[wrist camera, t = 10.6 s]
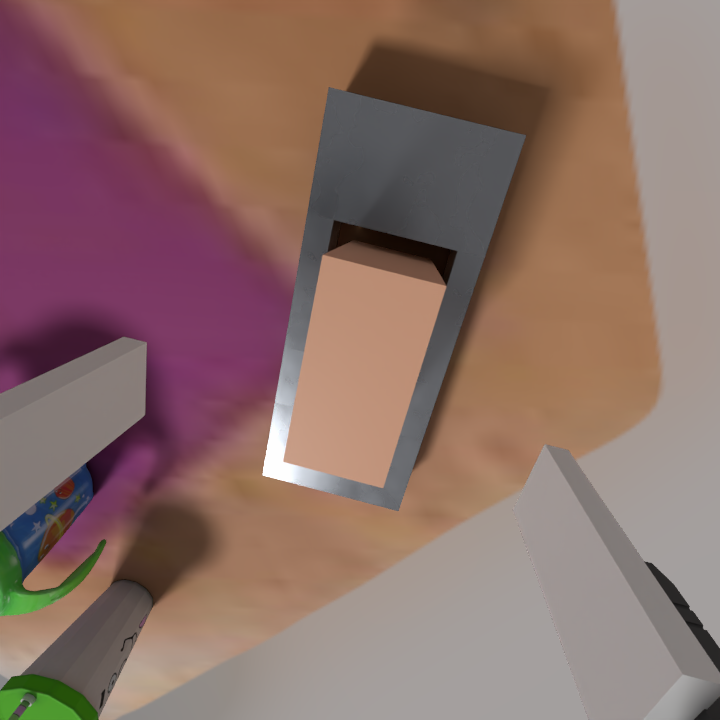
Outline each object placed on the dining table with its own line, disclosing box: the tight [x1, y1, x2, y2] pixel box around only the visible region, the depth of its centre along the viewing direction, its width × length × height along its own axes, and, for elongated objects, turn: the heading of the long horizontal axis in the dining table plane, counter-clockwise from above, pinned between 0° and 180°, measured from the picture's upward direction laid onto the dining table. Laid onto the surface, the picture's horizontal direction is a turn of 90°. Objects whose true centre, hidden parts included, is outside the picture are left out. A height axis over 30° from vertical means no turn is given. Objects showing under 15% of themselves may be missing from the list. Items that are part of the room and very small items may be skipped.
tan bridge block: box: [283, 240, 446, 488], centre depth 22 cm, size 10×5×10 cm, turn 167°
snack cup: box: [0, 463, 106, 616], centre depth 29 cm, size 16×10×10 cm
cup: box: [0, 580, 153, 720], centre depth 32 cm, size 8×8×15 cm
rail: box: [263, 87, 526, 511], centre depth 25 cm, size 24×10×3 cm, turn 167°
